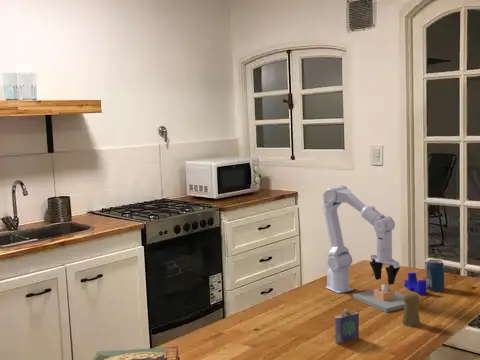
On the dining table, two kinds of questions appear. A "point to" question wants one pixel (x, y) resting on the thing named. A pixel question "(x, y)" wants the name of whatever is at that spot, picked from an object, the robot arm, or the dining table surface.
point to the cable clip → (415, 284)
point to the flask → (346, 327)
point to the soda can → (435, 275)
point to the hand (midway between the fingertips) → (384, 281)
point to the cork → (411, 310)
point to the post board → (380, 304)
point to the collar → (384, 294)
